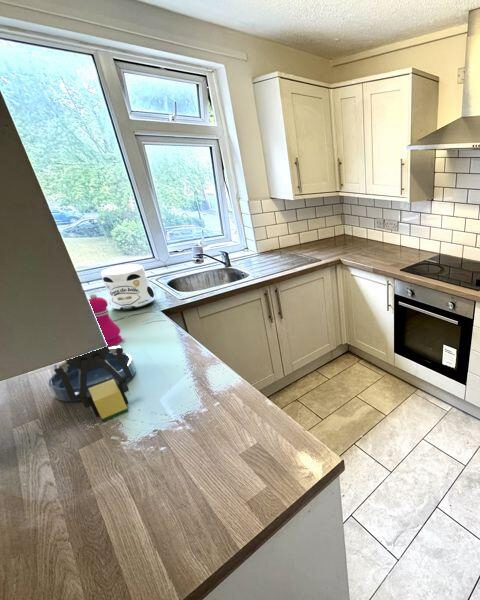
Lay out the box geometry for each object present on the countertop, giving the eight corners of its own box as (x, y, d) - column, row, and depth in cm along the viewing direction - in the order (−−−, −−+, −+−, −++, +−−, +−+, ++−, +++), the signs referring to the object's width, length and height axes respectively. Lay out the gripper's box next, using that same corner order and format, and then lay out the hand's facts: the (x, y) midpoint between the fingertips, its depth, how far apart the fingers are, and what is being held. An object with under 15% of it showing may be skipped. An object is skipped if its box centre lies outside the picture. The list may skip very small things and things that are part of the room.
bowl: (36, 401, 95) (28, 387, 93) (98, 363, 112) (92, 350, 110) (98, 405, 93) (92, 391, 91) (150, 365, 111) (146, 353, 109)
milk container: (121, 316, 145) (107, 278, 138) (105, 307, 154) (91, 271, 147) (163, 302, 159) (152, 267, 152) (146, 295, 167) (135, 261, 160)
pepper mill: (104, 339, 127) (84, 291, 119) (126, 336, 129) (108, 289, 121) (96, 349, 121) (74, 299, 113) (119, 345, 123) (100, 296, 115)
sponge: (97, 408, 92) (88, 388, 89) (121, 398, 96) (113, 378, 93) (103, 422, 87) (93, 401, 85) (128, 411, 91) (120, 391, 88)
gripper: (27, 356, 74) (68, 434, 83) (129, 326, 86) (155, 396, 96) (25, 345, 78) (64, 419, 87) (122, 318, 91) (147, 386, 100)
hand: (111, 407), depth 91 cm, fingers open, 6 cm apart
